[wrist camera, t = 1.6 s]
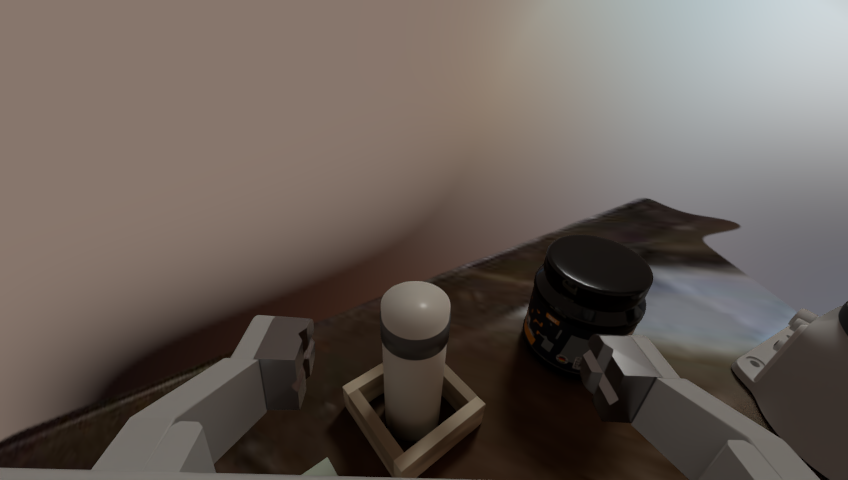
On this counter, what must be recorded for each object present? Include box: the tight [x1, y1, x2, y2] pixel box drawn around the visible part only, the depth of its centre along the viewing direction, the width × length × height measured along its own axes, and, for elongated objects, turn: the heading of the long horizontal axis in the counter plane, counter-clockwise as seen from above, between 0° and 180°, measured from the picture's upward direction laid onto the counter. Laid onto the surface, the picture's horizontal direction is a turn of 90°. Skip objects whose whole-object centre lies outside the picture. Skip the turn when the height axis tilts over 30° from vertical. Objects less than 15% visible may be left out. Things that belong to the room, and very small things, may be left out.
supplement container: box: [523, 235, 653, 381], centre depth 39 cm, size 10×10×12 cm
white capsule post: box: [380, 281, 451, 442], centre depth 31 cm, size 5×5×14 cm
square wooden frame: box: [343, 363, 485, 478], centre depth 34 cm, size 9×9×3 cm
